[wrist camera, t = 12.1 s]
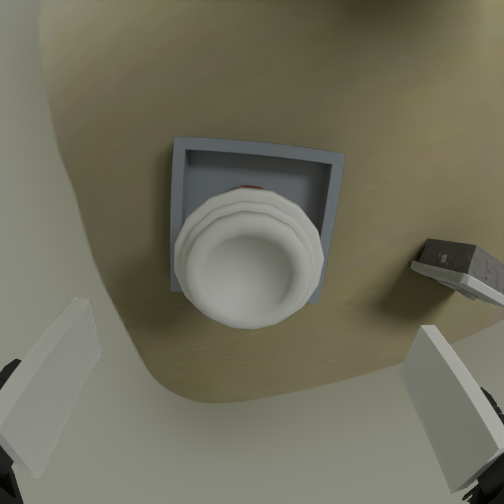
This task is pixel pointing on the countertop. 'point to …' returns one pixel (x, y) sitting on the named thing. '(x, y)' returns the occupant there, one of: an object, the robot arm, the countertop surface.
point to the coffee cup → (248, 257)
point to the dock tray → (255, 182)
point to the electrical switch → (463, 269)
